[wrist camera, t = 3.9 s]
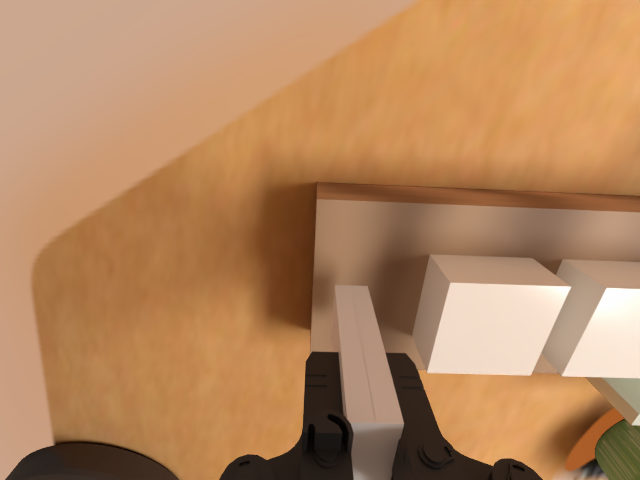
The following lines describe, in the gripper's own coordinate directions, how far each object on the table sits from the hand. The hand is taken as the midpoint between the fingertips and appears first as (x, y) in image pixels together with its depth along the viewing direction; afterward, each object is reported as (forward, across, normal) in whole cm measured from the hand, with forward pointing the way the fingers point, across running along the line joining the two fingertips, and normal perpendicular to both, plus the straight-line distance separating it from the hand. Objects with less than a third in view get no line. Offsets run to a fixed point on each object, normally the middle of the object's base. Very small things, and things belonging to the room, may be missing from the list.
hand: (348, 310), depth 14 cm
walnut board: (+4, -8, 0) cm, 9 cm away
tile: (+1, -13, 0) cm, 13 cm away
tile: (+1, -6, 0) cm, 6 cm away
